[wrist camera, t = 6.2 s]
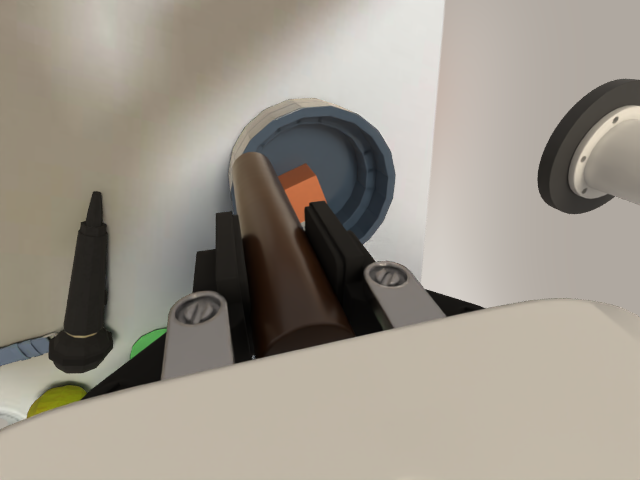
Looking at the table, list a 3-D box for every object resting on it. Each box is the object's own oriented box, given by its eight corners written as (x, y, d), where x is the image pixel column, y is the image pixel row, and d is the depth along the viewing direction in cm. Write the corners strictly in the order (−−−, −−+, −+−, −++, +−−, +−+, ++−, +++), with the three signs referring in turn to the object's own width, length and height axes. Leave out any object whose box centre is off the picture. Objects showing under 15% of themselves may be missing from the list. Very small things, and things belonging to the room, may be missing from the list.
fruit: (105, 401, 43) (73, 507, 33) (51, 413, 41) (0, 528, 31) (89, 369, 40) (47, 476, 30) (29, 381, 38) (-36, 498, 28)
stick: (271, 149, 19) (363, 314, 7) (274, 189, 20) (357, 384, 8) (228, 153, 18) (251, 337, 6) (234, 193, 19) (262, 408, 8)
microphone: (115, 184, 33) (97, 343, 39) (45, 181, 28) (37, 362, 34) (144, 202, 31) (120, 369, 37) (73, 202, 26) (58, 395, 32)
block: (306, 162, 34) (316, 175, 30) (318, 194, 36) (329, 209, 33) (271, 179, 34) (277, 193, 30) (286, 210, 36) (293, 226, 32)
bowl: (375, 94, 33) (404, 102, 28) (365, 228, 41) (386, 253, 36) (216, 101, 29) (217, 111, 24) (239, 247, 37) (243, 277, 32)
